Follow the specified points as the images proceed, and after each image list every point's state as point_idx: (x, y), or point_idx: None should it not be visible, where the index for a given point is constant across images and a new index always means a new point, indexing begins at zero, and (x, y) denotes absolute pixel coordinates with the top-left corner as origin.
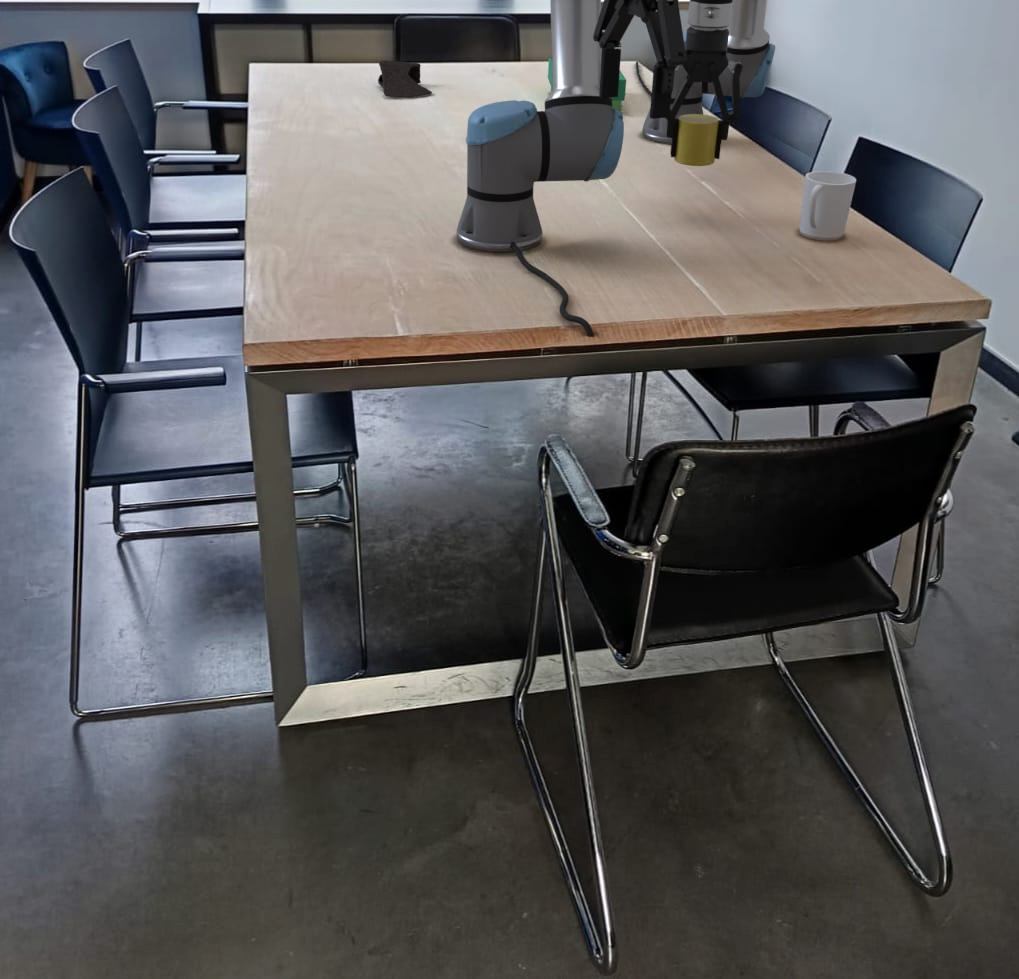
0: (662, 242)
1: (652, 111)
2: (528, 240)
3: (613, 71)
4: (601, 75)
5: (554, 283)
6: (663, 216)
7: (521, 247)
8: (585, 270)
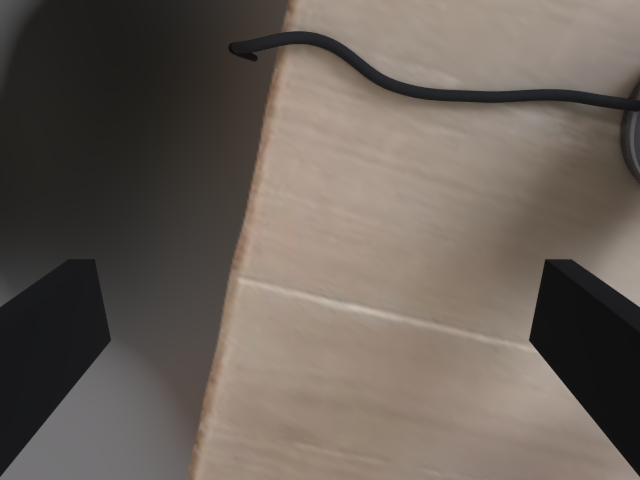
0: (524, 355)
1: (54, 273)
2: (634, 142)
3: (613, 393)
4: (638, 314)
5: (441, 91)
6: None
7: (627, 124)
8: (487, 187)
